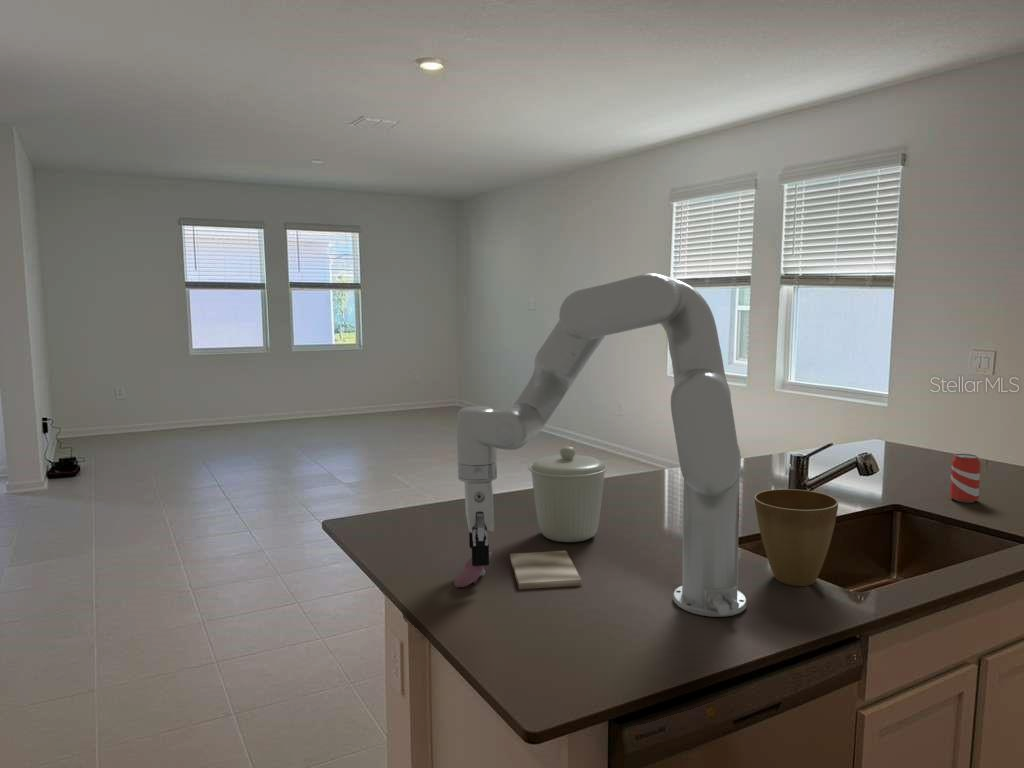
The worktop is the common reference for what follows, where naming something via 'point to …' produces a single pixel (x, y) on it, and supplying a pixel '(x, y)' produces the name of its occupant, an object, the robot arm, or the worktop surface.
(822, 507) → the plant pot
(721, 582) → the robot arm
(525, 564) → the birch board
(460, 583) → the video game controller
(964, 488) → the beverage can
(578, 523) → the canister
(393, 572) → the worktop surface
